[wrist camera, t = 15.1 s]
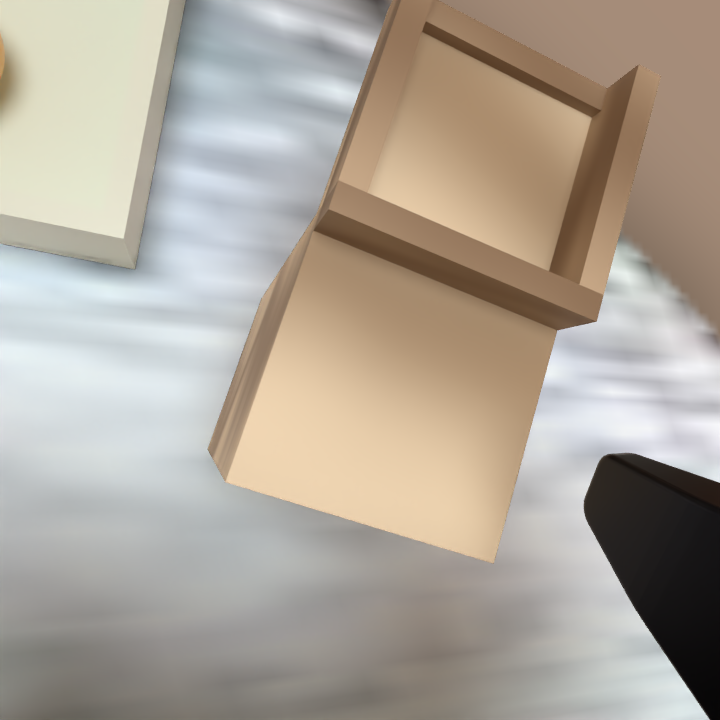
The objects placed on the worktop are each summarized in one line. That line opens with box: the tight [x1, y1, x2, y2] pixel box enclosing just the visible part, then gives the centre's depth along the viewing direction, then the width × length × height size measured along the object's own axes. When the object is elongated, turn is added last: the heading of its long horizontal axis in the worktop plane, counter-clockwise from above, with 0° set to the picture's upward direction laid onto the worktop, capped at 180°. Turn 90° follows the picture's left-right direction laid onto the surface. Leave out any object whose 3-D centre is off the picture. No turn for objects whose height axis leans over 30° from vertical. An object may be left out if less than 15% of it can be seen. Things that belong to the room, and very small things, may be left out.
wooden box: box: [208, 0, 661, 564], centre depth 15 cm, size 9×5×11 cm, turn 162°
